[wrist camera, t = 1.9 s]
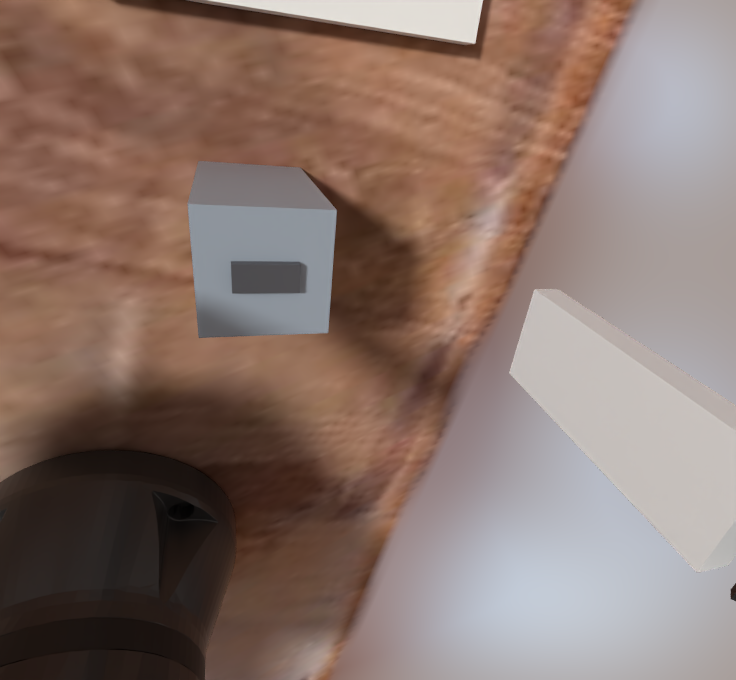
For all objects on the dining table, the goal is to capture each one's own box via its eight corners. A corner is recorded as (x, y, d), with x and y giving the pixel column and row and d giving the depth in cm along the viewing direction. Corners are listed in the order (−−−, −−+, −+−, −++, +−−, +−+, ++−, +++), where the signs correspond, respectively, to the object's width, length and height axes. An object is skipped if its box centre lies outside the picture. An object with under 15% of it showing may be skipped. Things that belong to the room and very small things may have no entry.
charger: (297, 259, 24) (329, 336, 17) (205, 258, 22) (198, 342, 15) (300, 167, 21) (338, 212, 14) (198, 161, 20) (186, 206, 13)
